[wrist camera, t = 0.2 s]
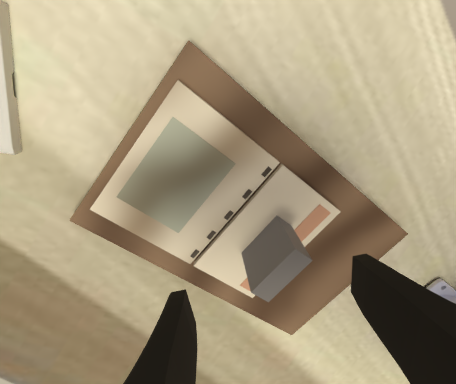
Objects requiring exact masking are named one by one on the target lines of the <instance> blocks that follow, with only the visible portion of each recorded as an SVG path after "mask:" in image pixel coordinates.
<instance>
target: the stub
mask: <svg viewBox="0 0 456 384" xmlns="http://www.w3.org/2000/svg"><path fill="white" fill-rule="evenodd" d="M339 213H340V211H339V210H338V209H337V208H336V207H335V206H333V205H332V204H331V203H330V202H328V201H327V200H326V199H325V198H323V197H322V196H321V195H320V194H319V193H317V192H316V191H315V190H314V189H312V188H311V187H310V186H309V185H307V184H306V183H305V182H304V181H302V180H301V179H300V178H299V177H298V176H296V175H295V174H294V173H293V172H291V171H290V170H289V169H288V168H286V167H285V166H284V165H283V164H280V165H279V167H278V168H277V169H276V170H275V171H274V172H273V173H272V175H271V176H270V177H269V178H268V179H267V180H266V181H265V182H264V184H263V185H262V186H261V187H260V188H259V189H258V190H257V191H256V193H255V194H254V195H253V196H252V197H251V198H250V199H249V201H248V202H247V203H246V204H245V205H244V206H243V207H242V208H241V210H240V211H239V212H238V213H237V214H236V215H235V216H234V217H233V219H232V220H231V221H230V222H229V223H228V224H227V225H226V226H225V228H224V229H223V230H222V231H221V232H220V233H219V234H218V236H217V237H216V238H215V239H214V240H213V241H212V242H211V243H210V245H209V246H208V247H207V248H206V249H205V250H204V251H203V252H202V254H201V255H200V256H199V257H198V258H197V259H196V260H195V262H194V267H196V268H198V269H200V270H202V271H204V272H205V273H207V274H209V275H211V276H213V277H215V278H216V279H218V280H220V281H222V282H224V283H226V284H227V285H229V286H231V287H233V288H235V289H237V290H238V291H240V292H242V293H244V294H246V295H248V296H250V297H251V298H253V297H254V296H255V295H256V296H258V297H260V298H262V299H263V300H265V301H267V302H269V301H270V300H271V299H273V298H274V297H275V296H276V295H277V294H278V293H279V292H280V291H281V290H282V289H283V288H284V287H285V286H286V285H287V284H288V283H289V282H290V281H292V280H293V279H294V278H295V277H296V276H297V275H298V274H299V273H300V272H301V271H302V270H303V269H304V268H305V267H306V266H307V265H308V264H309V263H311V262H312V261H313V260H312V259H311V257H310V255H309V254H308V252H307V250H306V249H305V246H306V245H307V244H308V243H309V242H310V241H311V240H312V239H313V238H315V237H316V236H317V235H318V234H319V233H320V232H321V231H322V230H323V229H324V228H325V227H326V226H327V225H328V224H329V223H330V222H331V221H332V220H333V219H334V218H335V217H336V216H337V215H338V214H339Z"/></svg>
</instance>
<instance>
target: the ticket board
mask: <svg viewBox="0 0 456 384" xmlns="http://www.w3.org/2000/svg"><path fill="white" fill-rule="evenodd" d="M280 164H283V165H284V166H285V167H286V168H288V169H289V170H290V171H291V172H293V173H294V174H295V175H296V176H298V177H299V178H300V179H301V180H302V181H304V182H305V183H306V184H307V185H309V186H310V187H311V188H312V189H314V190H315V191H316V192H317V193H319V194H320V195H321V196H322V197H323V198H325V199H326V200H327V201H328V202H330V203H331V204H332V205H333V206H335V207H336V208H337V209H338V210H339V211H340V213H339V214H338V215H337V216H336V217H335V218H334V219H333V220H332V221H331V222H330V223H329V224H328V225H327V226H326V227H325V228H324V229H323V230H322V231H321V232H320V233H319V234H318V235H317V236H316V237H315V238H313V239H312V240H311V241H310V242H309V243H308V244H307V245H306V246H305V249H306V250H307V252H308V254H309V255H310V257H311V259H312V260H313V261H312V262H311V263H309V264H308V265H307V266H306V267H305V268H304V269H303V270H302V271H301V272H300V273H299V274H298V275H297V276H296V277H295V278H294V279H293V280H292V281H290V282H289V283H288V284H287V285H286V286H285V287H284V288H283V289H282V290H281V291H280V292H279V293H278V294H277V295H276V296H275V297H274V298H273V299H271V300H270V301H269V302H267V301H265V300H263V299H262V298H260V297H258V296H256V295H255V296H254V297H253V298H251V297H250V296H248V295H246V294H244V293H242V292H240V291H238V290H237V289H235V288H233V287H231V286H229V285H227V284H226V283H224V282H222V281H220V280H218V279H216V278H215V277H213V276H211V275H209V274H207V273H205V272H204V271H202V270H200V269H198V268H196V267H194V262H195V260H196V259H197V258H198V257H199V256H200V255H201V254H202V252H203V251H204V250H205V249H206V248H207V247H208V246H209V245H210V243H211V242H212V241H213V240H214V239H215V238H216V237H217V236H218V234H219V233H220V232H221V231H222V230H223V229H224V228H225V226H226V225H227V224H228V223H229V222H230V221H231V220H232V219H233V217H234V216H235V215H236V214H237V213H238V212H239V211H240V210H241V208H242V207H243V206H244V205H245V204H246V203H247V202H248V201H249V199H250V198H251V197H252V196H253V195H254V194H255V193H256V191H257V190H258V189H259V188H260V187H261V186H262V185H263V184H264V182H265V181H266V180H267V179H268V178H269V177H270V176H271V175H272V173H273V172H274V171H275V170H276V169H277V168H278V167H279V165H280ZM70 221H72V222H74V223H75V224H77V225H79V226H81V227H83V228H85V229H87V230H89V231H91V232H93V233H95V234H97V235H99V236H101V237H103V238H105V239H106V240H108V241H110V242H112V243H114V244H116V245H118V246H120V247H122V248H124V249H126V250H128V251H130V252H132V253H134V254H136V255H137V256H139V257H141V258H143V259H145V260H147V261H149V262H151V263H153V264H155V265H157V266H159V267H161V268H163V269H165V270H167V271H168V272H170V273H172V274H174V275H176V276H178V277H180V278H182V279H184V280H186V281H188V282H190V283H192V284H194V285H196V286H198V287H199V288H201V289H203V290H205V291H207V292H209V293H211V294H213V295H215V296H217V297H219V298H221V299H223V300H225V301H227V302H229V303H230V304H232V305H234V306H236V307H238V308H240V309H242V310H244V311H246V312H248V313H250V314H252V315H254V316H256V317H258V318H260V319H261V320H263V321H265V322H267V323H269V324H271V325H273V326H275V327H277V328H279V329H281V330H283V331H285V332H287V333H289V334H291V335H292V334H294V333H295V332H296V331H297V330H298V329H299V328H300V327H302V326H303V325H304V324H305V323H306V322H307V321H308V320H310V319H311V318H312V317H313V316H314V315H315V314H317V313H318V312H319V311H320V310H321V309H322V308H323V307H325V306H326V305H327V304H328V303H329V302H330V301H331V300H333V299H334V298H335V297H336V296H337V295H338V294H340V293H341V292H342V291H343V290H344V289H345V288H346V287H348V286H349V285H350V284H351V280H352V257H353V256H356V255H361V254H366V253H367V254H368V255H370V256H372V257H374V258H375V259H377V260H379V259H380V258H381V257H382V256H383V255H384V254H386V253H387V252H388V251H389V250H390V249H391V248H392V247H394V246H395V245H396V244H397V243H398V242H399V241H401V240H402V239H403V238H404V237H405V236H406V235H407V234H408V233H406V232H405V231H404V230H403V229H402V228H401V227H400V226H399V225H397V224H396V223H395V222H394V221H393V220H392V219H391V218H389V217H388V216H387V215H386V214H385V213H384V212H383V211H382V210H380V209H379V208H378V207H377V206H376V205H375V204H374V203H372V202H371V201H370V200H369V199H368V198H367V197H366V196H365V195H363V194H362V193H361V192H360V191H359V190H358V189H357V188H355V187H354V186H353V185H352V184H351V183H350V182H349V181H348V180H346V179H345V178H344V177H343V176H342V175H341V174H340V173H338V172H337V171H336V170H335V169H334V168H333V167H332V166H331V165H329V164H328V163H327V162H326V161H325V160H324V159H323V158H321V157H320V156H319V155H318V154H317V153H316V152H315V151H314V150H312V149H311V148H310V147H309V146H308V145H307V144H306V143H304V142H303V141H302V140H301V139H300V138H299V137H298V136H297V135H295V134H294V133H293V132H292V131H291V130H290V129H289V128H287V127H286V126H285V125H284V124H283V123H282V122H281V121H280V120H278V119H277V118H276V117H275V116H274V115H273V114H272V113H270V112H269V111H268V110H267V109H266V108H265V107H264V106H263V105H261V104H260V103H259V102H258V101H257V100H256V99H255V98H253V97H252V96H251V95H250V94H249V93H248V92H247V91H246V90H244V89H243V88H242V87H241V86H240V85H239V84H238V83H236V82H235V81H234V80H233V79H232V78H231V77H230V76H229V75H227V74H226V73H225V72H224V71H223V70H222V69H221V68H219V67H218V66H217V65H216V64H215V63H214V62H213V61H212V60H210V59H209V58H208V57H207V56H206V55H205V54H204V53H202V52H201V51H200V50H199V49H198V48H197V47H196V46H195V45H193V44H192V43H191V42H190V41H188V42H187V44H186V45H185V47H184V48H183V50H182V51H181V53H180V54H179V56H178V57H177V59H176V60H175V62H174V63H173V65H172V66H171V68H170V69H169V71H168V73H167V74H166V76H165V77H164V79H163V80H162V82H161V83H160V85H159V86H158V88H157V89H156V91H155V92H154V94H153V95H152V97H151V98H150V100H149V101H148V103H147V104H146V106H145V107H144V109H143V110H142V112H141V113H140V115H139V116H138V118H137V119H136V121H135V122H134V124H133V125H132V127H131V128H130V130H129V131H128V133H127V134H126V136H125V137H124V139H123V140H122V142H121V143H120V145H119V146H118V148H117V149H116V151H115V152H114V154H113V155H112V157H111V158H110V160H109V162H108V163H107V165H106V166H105V168H104V169H103V171H102V172H101V174H100V175H99V177H98V178H97V180H96V181H95V183H94V184H93V186H92V187H91V189H90V190H89V192H88V193H87V195H86V196H85V198H84V199H83V201H82V202H81V204H80V205H79V207H78V208H77V210H76V211H75V213H74V214H73V216H72V217H71V219H70Z"/></svg>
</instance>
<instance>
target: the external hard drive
mask: <svg viewBox="0 0 456 384" xmlns="http://www.w3.org/2000/svg"><path fill="white" fill-rule="evenodd" d="M13 73H14V60H13V49H12V38H11V26H10V15H9V5H8V4H6V3H3V2H0V153H6V154H12V155H16V154H18V153H20V152H22V148H21V137H20V126H19V115H18V105H17V98H16V97H15V96H14V90H13V80H12V74H13Z"/></svg>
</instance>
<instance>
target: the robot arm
mask: <svg viewBox="0 0 456 384" xmlns="http://www.w3.org/2000/svg"><path fill="white" fill-rule="evenodd" d="M351 293H352V295H353V297H354V299H355V301H356V302H357V304H358V306H359V308H360V310H361V312H362V313H363V315H364V317H365V318H366V319H367V321H368V322H369V324H370V325H371V327H372V328H373V330H374V331H375V333H376V334H377V335H378V337H379V338H380V340H381V341H382V342H383V344H384V345H385V347H386V348H387V350H388V351H389V352H390V354H391V355H392V357H393V358H394V360H395V361H396V362H397V364H398V365H399V367H400V368H401V370H402V371H403V373H404V374H405V376H406V377H407V379H408V381H409V382H410V384H456V290H454V289H453V288H452V287H451V286H450V285H449V284H447V283H446V282H445V281H444V280H443V279H437V280H435V281H434V282H433V283H432V284H430V285H429V286H428V287H426V288H425V287H423V286H421V285H419V284H417V283H416V282H414V281H412V280H410V279H409V278H407V277H405V276H404V275H402V274H400V273H399V272H397V271H395V270H394V269H392V268H390V267H389V266H387V265H385V264H384V263H382V262H380V261H379V260H377V259H375V258H374V257H372V256H370V255H368V254H367V253H366V254H361V255H356V256H353V257H352V280H351ZM196 364H197V332H196V321H195V318H194V315H193V312H192V308H191V305H190V302H189V299H188V295H187V292H186V290H181V291H176V292H171V294H170V295H169V297H168V300H167V302H166V305H165V307H164V309H163V311H162V314H161V316H160V318H159V320H158V322H157V324H156V326H155V328H154V330H153V332H152V334H151V336H150V338H149V340H148V342H147V344H146V346H145V348H144V350H143V351H142V353H141V355H140V357H139V359H138V360H137V362H136V364H135V366H134V367H133V369H132V371H131V372H130V374H129V376H128V377H127V379H126V380H125V382H124V384H195V382H196Z"/></svg>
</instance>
